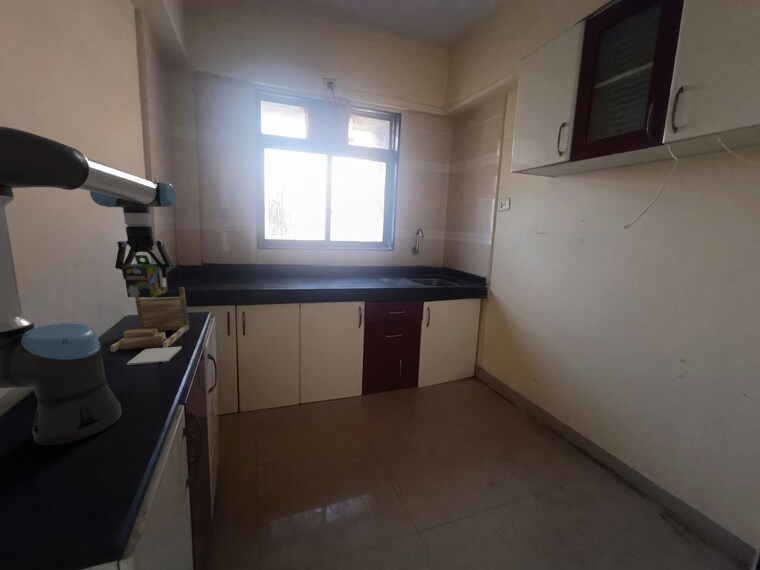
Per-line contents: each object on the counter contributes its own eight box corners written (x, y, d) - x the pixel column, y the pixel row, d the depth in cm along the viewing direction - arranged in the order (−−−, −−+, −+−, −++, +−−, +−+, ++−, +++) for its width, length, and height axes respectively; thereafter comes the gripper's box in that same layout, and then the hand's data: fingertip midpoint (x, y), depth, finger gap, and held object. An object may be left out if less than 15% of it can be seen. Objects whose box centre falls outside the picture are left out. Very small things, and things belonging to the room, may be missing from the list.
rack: (166, 348, 121) (159, 300, 117) (110, 351, 118) (101, 302, 114) (189, 328, 142) (184, 287, 138) (142, 331, 139) (135, 289, 135)
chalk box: (168, 292, 126) (164, 253, 124) (150, 298, 117) (145, 256, 115) (145, 292, 127) (141, 253, 124) (126, 297, 118) (120, 255, 115)
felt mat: (167, 362, 109) (167, 360, 109) (126, 365, 107) (126, 363, 107) (181, 348, 121) (181, 346, 121) (145, 350, 119) (145, 348, 119)
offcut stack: (162, 346, 122) (160, 331, 121) (120, 349, 120) (117, 333, 119) (168, 342, 127) (166, 327, 126) (127, 344, 124) (124, 329, 123)
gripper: (177, 225, 123) (184, 284, 127) (108, 225, 119) (118, 286, 123) (169, 225, 116) (177, 287, 120) (95, 226, 112) (105, 290, 116)
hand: (147, 287), depth 122 cm, fingers closed on chalk box, 10 cm apart
